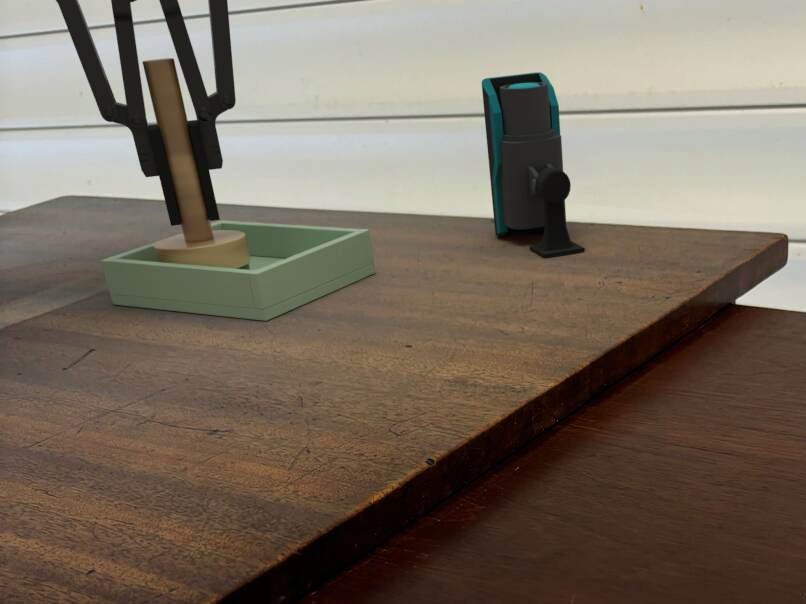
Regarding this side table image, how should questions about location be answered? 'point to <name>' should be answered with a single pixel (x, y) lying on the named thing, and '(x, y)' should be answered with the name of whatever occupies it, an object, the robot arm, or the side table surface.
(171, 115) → the peg on round base
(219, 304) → the tray
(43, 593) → the side table surface
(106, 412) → the side table surface
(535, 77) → the surveillance camera
